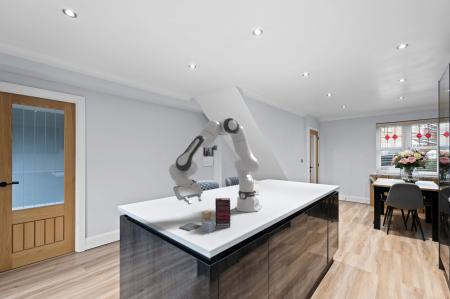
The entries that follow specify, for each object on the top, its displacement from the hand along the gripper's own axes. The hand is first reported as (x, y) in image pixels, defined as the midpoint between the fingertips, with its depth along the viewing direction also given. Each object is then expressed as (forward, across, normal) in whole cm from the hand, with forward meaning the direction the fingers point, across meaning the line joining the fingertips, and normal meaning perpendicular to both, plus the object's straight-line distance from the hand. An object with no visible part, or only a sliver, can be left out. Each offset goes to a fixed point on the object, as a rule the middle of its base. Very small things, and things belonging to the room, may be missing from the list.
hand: (195, 202), depth 125 cm
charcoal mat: (+11, -8, +6) cm, 15 cm away
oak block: (+15, 0, +2) cm, 15 cm away
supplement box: (+21, +4, -4) cm, 22 cm away
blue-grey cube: (+19, -6, -2) cm, 20 cm away
